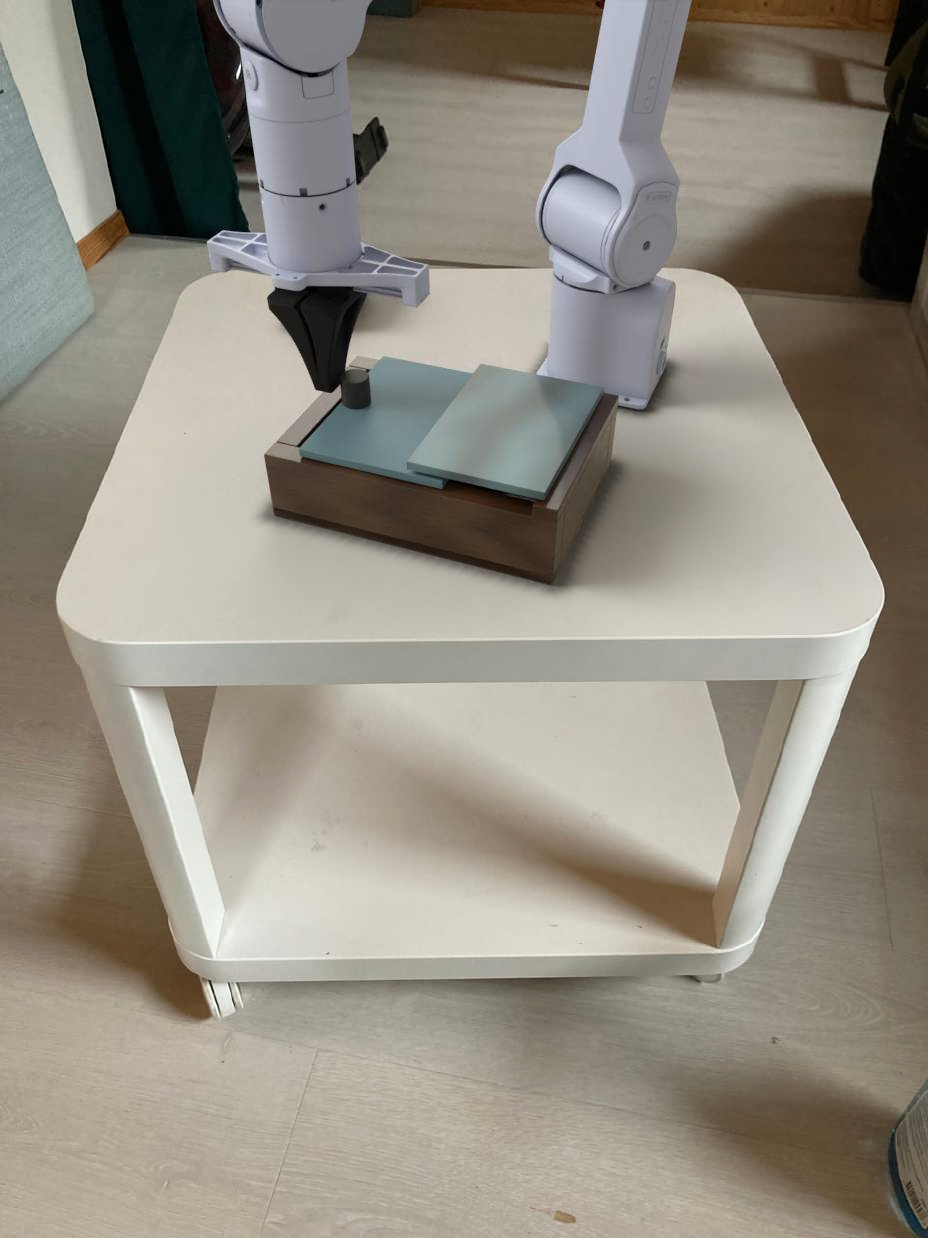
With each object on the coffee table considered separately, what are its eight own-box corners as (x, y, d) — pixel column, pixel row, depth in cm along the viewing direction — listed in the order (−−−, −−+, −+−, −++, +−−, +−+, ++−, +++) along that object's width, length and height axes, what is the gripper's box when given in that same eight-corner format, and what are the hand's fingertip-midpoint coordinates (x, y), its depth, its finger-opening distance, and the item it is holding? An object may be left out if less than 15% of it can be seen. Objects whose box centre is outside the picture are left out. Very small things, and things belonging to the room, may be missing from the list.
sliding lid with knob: (511, 388, 69) (513, 354, 68) (442, 489, 61) (441, 454, 59) (383, 362, 72) (381, 330, 70) (299, 456, 63) (294, 421, 62)
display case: (610, 466, 71) (620, 386, 67) (552, 585, 62) (558, 501, 57) (362, 413, 77) (355, 335, 72) (273, 515, 67) (259, 433, 63)
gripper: (163, 186, 57) (206, 392, 66) (391, 221, 53) (402, 436, 62) (228, 147, 62) (259, 345, 71) (441, 177, 58) (444, 382, 67)
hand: (329, 384), depth 67 cm, fingers closed
